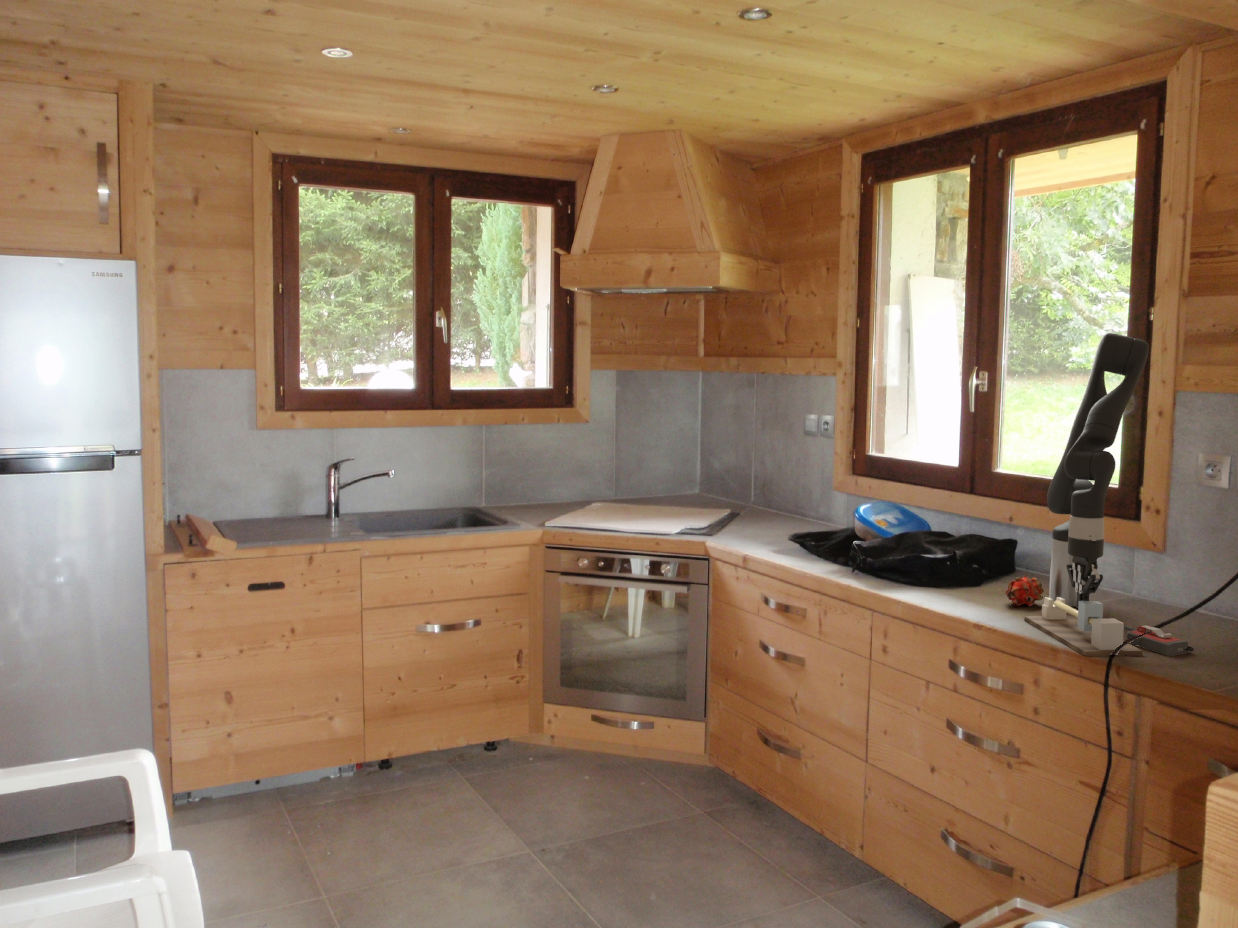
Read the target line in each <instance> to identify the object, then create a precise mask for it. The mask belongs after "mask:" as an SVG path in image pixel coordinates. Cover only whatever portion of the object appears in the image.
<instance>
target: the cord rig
mask: <svg viewBox="0 0 1238 928" xmlns="http://www.w3.org/2000/svg"><path fill="white" fill-rule="evenodd" d="M1067 614H1068V615H1070V616H1075V617H1076V618H1078V609H1076V608H1074V607H1073V606H1068V605H1066V604H1065V599H1063V598H1061V597H1056V601H1055V602H1054V603H1053V599H1051V598H1049V596H1048V597H1047V596H1046V597H1044V599H1043V604H1041V616H1042V617H1043V618H1044V619H1046V620H1048V619H1066V616H1067ZM1088 624H1090V625H1092V638H1091V645H1092V646H1094V647H1096V648H1098V649H1099V650H1115V649H1116V648H1117V647H1119V646H1120V645H1122V644H1123V641H1124V630H1125V629H1124V625H1125V623H1124V622H1122V621H1120V620H1118V619H1116V618H1103V619H1093V618H1092V617H1088ZM1121 650H1123V648H1122V649H1121Z"/></svg>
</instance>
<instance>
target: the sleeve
mask: <svg viewBox="0 0 1238 928" xmlns="http://www.w3.org/2000/svg"><path fill="white" fill-rule="evenodd" d="M1077 610H1078V626H1077V628H1078V629H1080V630H1082V631H1092V625H1090V624H1088V617H1091V618H1093V619H1104V618H1103V615H1104V603H1102V602H1100V601H1098V600H1089V601H1079V606H1078V608H1077Z"/></svg>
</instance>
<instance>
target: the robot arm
mask: <svg viewBox="0 0 1238 928" xmlns="http://www.w3.org/2000/svg"><path fill="white" fill-rule="evenodd" d="M1149 351H1150V346H1149V343H1148V341H1146V340H1144V339H1141V338H1136V337H1132V336H1128V335H1122V334H1118V333H1114V332H1106V333H1105V334H1103V335H1102V337H1101V339H1100V341H1099V343H1098V345H1097V347H1096V351H1095V354H1094V358H1093V362H1092V366H1091V369H1090V373H1089V377H1088V380H1087V384H1086V387H1085V390H1084V394H1083V396H1082V399H1081V403H1080V405H1079V407H1078V410H1077V413H1076V415H1075V418H1074V421H1073V424H1072V427H1071V429H1070V433H1069V437H1068V440H1067V443H1066V447H1065V449H1064V451H1063V455H1062V457H1061V460H1060V462H1059V464H1058V466H1057V468H1056V471H1055V472H1054V475H1053V477H1052V479H1051V481H1050V484H1049V486H1048V487H1049V488H1048V489H1047V495H1046V504H1047V508H1048V510H1049V511H1050V512H1051V513H1053V514H1055V515H1056V514H1057V515H1069V516H1070V517H1069V519H1068V520H1067V521H1065V522H1063V523H1061V524H1059V525H1056V526H1055V527H1053V528H1052V529H1053V530H1052V534H1051V535H1052V536H1051V538H1052V539H1051V558H1050V560H1051V561H1050V572H1049V590H1048V591H1049V592H1048V597H1049V598H1051V599H1053V604H1054V602H1055V601H1056V597H1061V598H1063V599H1065V604H1066V605H1068V606H1070V607H1076V608H1077V609H1078V606H1079V601H1090V595H1091V594H1095V593H1096V592H1097V590H1098V588H1099V587H1100V585H1101V583H1102V581H1103V579H1104V575H1103V574H1099V571H1098V568H1099V567H1098V561H1097V560H1098V559H1100V558H1102V557H1103V556H1104V546H1105V545H1104V543H1105V520H1104V519H1105V518H1104V517H1105V503H1106V498H1107V493H1108V490H1109V486H1110V484H1111V481H1112V478H1113V476H1114V474H1115V470H1116V459H1115V457H1114V455H1113V454H1112V453H1111V452H1110V451H1106V450H1105V449H1107V448H1111V447H1112V446H1113V444H1114V443H1115V440H1116V438H1117V435H1118V431H1119V427H1120V425H1121V421H1122V418H1123V415H1124V413H1125V410H1126V409H1127V406H1128V405H1129V403H1130V402H1129V401H1130V400H1131V398H1132V395H1133V393H1134V392H1135V389H1136V387H1137V385H1138V383H1139V381H1140V377H1141V375H1142V373H1143V371H1144V368H1145V365H1146V363H1147V360H1148V358H1149ZM1105 372H1108V373H1111V374H1116V375H1119V376H1120V375H1121V376H1124V378H1123V379H1122V381H1121V382H1120V383H1119V384H1118V385H1117V386H1116V387H1115V388H1114V389H1112V390H1111V391H1110V392H1109V393H1108V392H1107V389H1106V382H1105V374H1106V373H1105Z"/></svg>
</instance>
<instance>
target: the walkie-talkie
mask: <svg viewBox="0 0 1238 928" xmlns="http://www.w3.org/2000/svg"><path fill="white" fill-rule="evenodd" d="M1124 630H1125V631H1127V632H1126V641H1127V640H1128V639H1131V638H1133V637H1136V636H1139V635H1142V634H1144V633H1147V632H1150V631H1151V632H1150V633H1148V634H1145V635H1143V636H1141V638H1138V639H1135V640H1134V641H1133V642H1131V644H1130V645H1132V644H1133V645H1132V646H1135V645H1139V646H1141V647H1144V648H1143V649H1145V650H1148V649H1149V650H1148V651H1151V650H1153V651H1152V652H1154V653H1157V654H1161V655H1162V656H1163V655H1164V656H1168V657H1170V656H1171V657H1173V656H1177V655H1178V656H1179V655H1184V654H1185V655H1186V654H1188V652H1194V651H1195V650H1194V649H1195V648H1194V647H1192V646H1190V645H1189V642H1188V641H1186V640H1184V639H1180V638H1176V637H1173V634H1172V633H1170V632H1169V633H1164V632H1163V631H1162V630H1161V629H1160V628H1158V627H1153V626H1150V625H1147V624H1146V625H1140V626H1137V628H1135V627H1132V626H1129V625H1125V624H1124ZM1141 647H1140V648H1141Z"/></svg>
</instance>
